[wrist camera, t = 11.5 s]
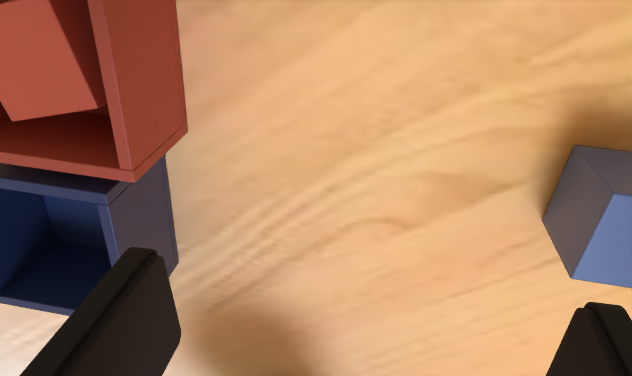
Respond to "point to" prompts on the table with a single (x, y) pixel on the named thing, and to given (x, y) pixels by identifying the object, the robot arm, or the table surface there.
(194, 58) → the table surface
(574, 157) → the blue block
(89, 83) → the red block
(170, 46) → the red bin
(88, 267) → the blue bin
